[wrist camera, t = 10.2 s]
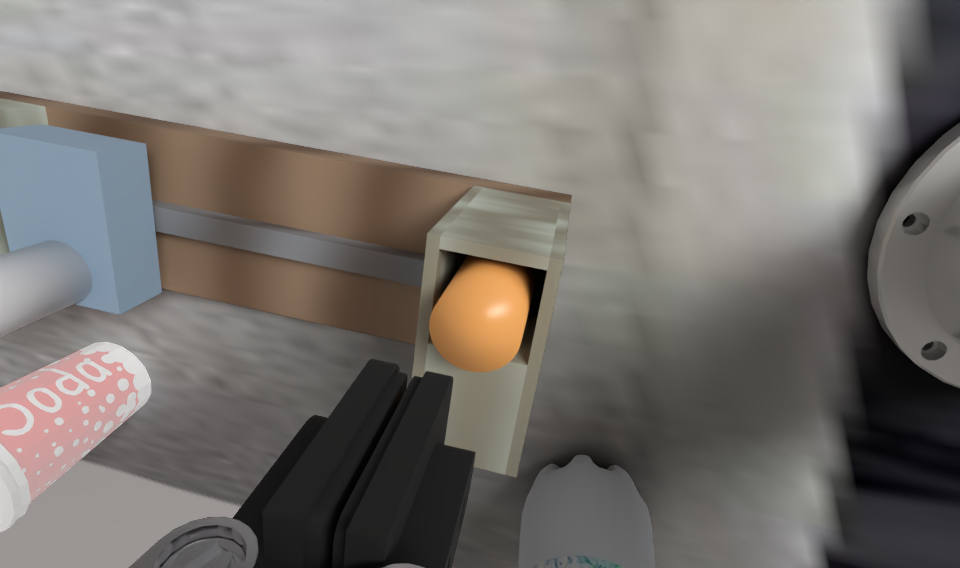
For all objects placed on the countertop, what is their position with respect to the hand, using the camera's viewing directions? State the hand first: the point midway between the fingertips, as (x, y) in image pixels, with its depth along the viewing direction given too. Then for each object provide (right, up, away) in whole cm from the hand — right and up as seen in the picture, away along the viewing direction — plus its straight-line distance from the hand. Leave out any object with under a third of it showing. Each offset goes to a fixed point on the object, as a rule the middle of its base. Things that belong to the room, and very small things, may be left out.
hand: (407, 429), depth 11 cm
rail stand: (-9, +6, +15) cm, 19 cm away
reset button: (+2, +3, +8) cm, 8 cm away
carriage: (-16, +6, +13) cm, 22 cm away
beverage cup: (-20, -2, +21) cm, 29 cm away
